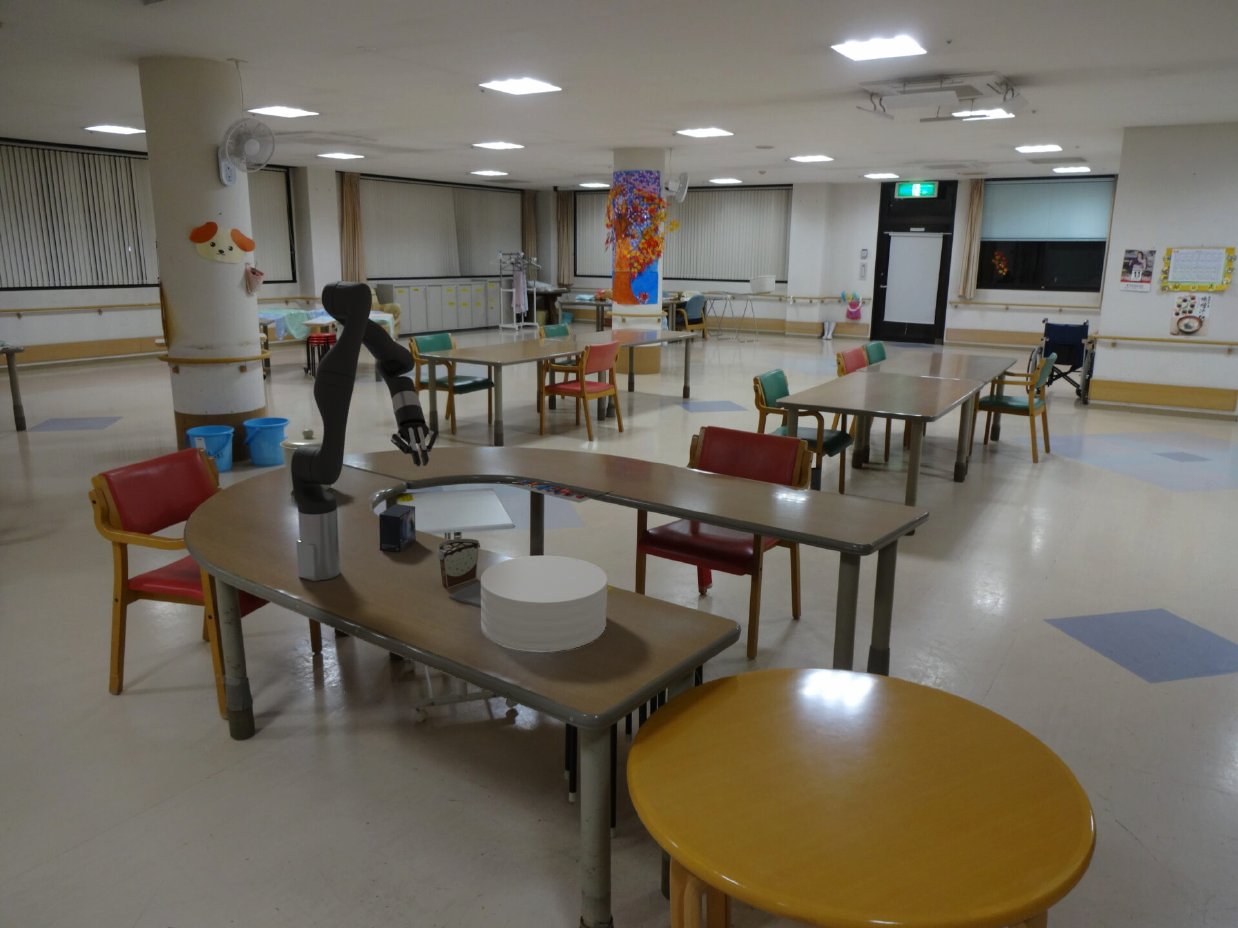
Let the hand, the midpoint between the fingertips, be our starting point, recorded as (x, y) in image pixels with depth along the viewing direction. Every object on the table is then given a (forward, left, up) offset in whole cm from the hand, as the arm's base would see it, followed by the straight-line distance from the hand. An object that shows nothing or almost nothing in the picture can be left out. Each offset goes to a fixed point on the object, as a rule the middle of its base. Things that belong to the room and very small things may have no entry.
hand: (422, 464), depth 230 cm
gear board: (+77, +13, -26) cm, 82 cm away
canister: (+23, +73, -25) cm, 80 cm away
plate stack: (-19, -54, -25) cm, 62 cm away
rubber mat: (-11, -32, -25) cm, 42 cm away
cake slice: (-11, -20, -25) cm, 34 cm away
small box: (0, +10, -25) cm, 27 cm away
